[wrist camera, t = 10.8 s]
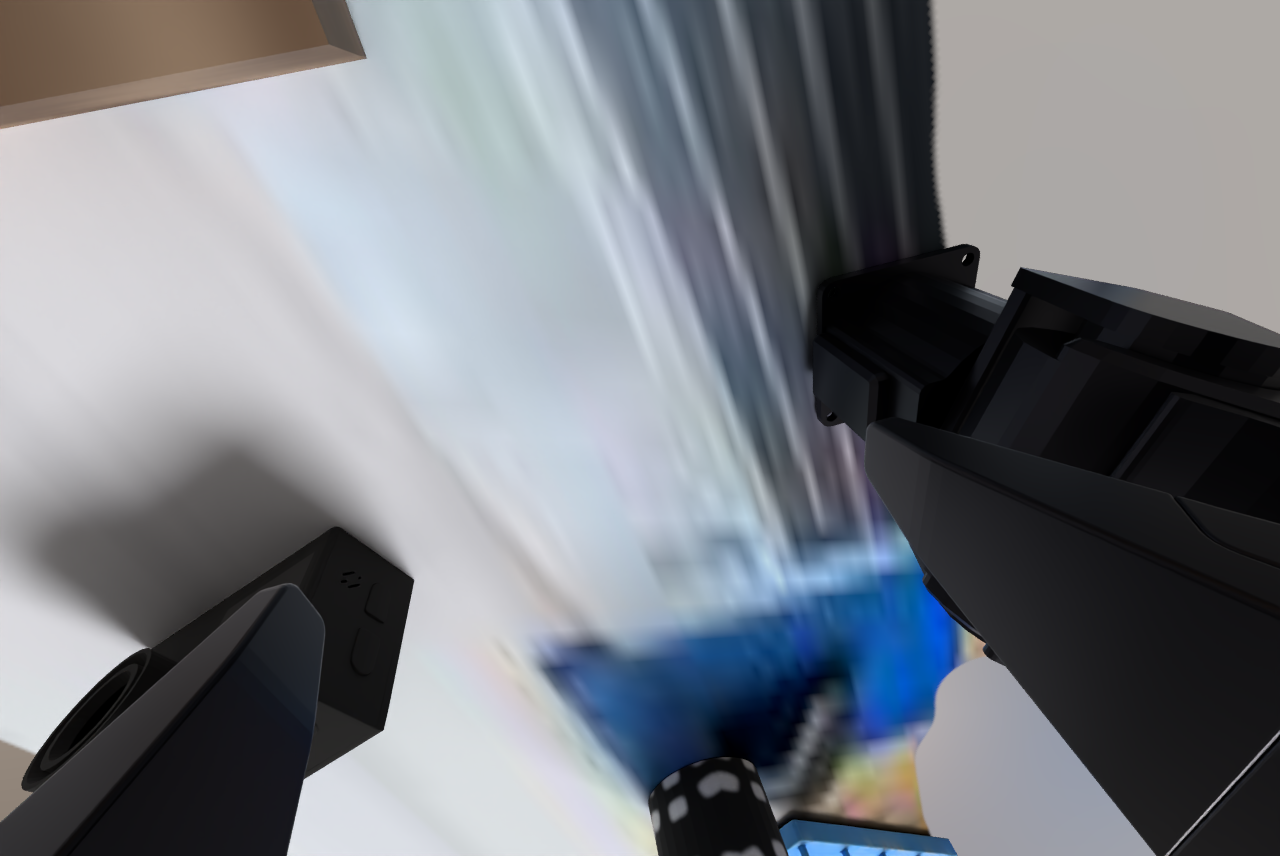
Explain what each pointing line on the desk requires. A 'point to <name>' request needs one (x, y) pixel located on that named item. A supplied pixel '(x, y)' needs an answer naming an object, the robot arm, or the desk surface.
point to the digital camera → (351, 664)
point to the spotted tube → (714, 812)
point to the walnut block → (156, 49)
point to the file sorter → (858, 841)
